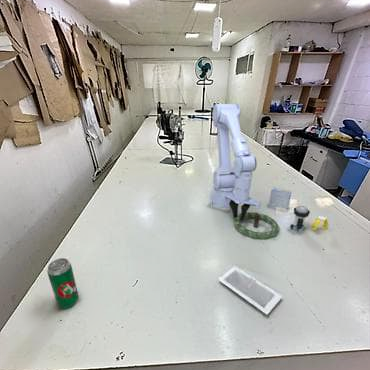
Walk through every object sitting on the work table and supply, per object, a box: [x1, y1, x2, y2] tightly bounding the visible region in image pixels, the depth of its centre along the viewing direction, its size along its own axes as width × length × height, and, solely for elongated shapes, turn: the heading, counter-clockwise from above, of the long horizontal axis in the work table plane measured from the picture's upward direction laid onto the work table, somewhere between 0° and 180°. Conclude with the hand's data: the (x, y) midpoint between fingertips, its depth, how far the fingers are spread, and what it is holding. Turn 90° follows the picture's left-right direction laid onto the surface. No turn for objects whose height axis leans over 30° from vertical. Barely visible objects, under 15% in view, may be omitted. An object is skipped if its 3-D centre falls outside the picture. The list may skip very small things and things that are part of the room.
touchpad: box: [217, 265, 283, 315], centre depth 63 cm, size 8×15×2 cm, turn 43°
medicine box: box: [268, 186, 292, 210], centre depth 105 cm, size 8×4×9 cm, turn 58°
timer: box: [312, 215, 329, 232], centre depth 88 cm, size 6×3×6 cm, turn 110°
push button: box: [289, 205, 311, 232], centre depth 87 cm, size 7×5×10 cm
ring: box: [233, 211, 280, 240], centre depth 90 cm, size 16×16×2 cm
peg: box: [252, 212, 260, 229], centre depth 89 cm, size 8×8×6 cm
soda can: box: [46, 257, 80, 309], centre depth 57 cm, size 5×5×12 cm
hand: (238, 218), depth 93 cm, fingers closed on ring, 2 cm apart
